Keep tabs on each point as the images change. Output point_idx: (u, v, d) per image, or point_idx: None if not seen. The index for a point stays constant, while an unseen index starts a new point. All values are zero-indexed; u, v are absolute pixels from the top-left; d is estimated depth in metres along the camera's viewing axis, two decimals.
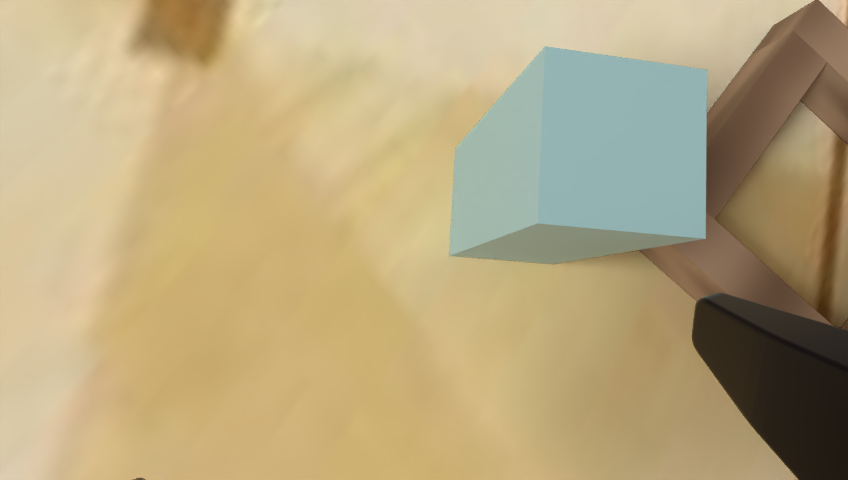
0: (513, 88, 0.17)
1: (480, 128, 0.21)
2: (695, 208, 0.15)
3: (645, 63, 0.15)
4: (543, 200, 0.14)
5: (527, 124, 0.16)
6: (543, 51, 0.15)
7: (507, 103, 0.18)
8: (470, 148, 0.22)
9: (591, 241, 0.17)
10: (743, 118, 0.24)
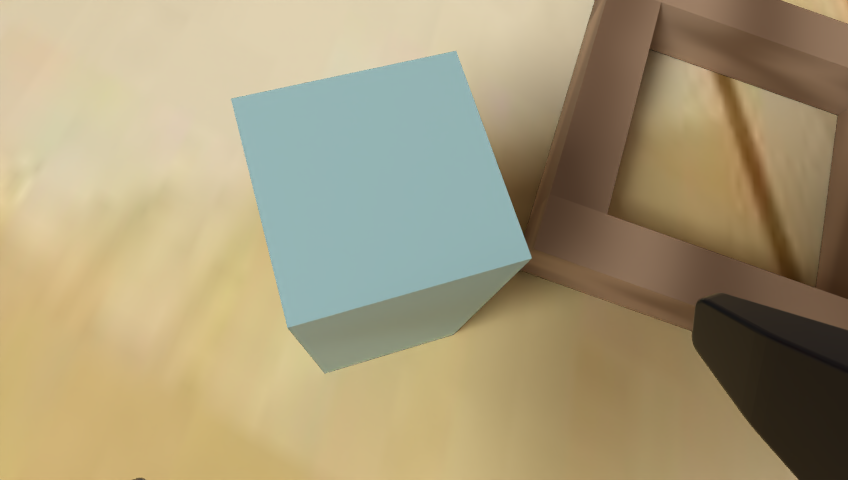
0: None
1: None
2: (502, 224, 0.11)
3: (372, 71, 0.12)
4: (286, 294, 0.10)
5: None
6: None
7: None
8: None
9: (416, 310, 0.13)
10: (594, 93, 0.21)
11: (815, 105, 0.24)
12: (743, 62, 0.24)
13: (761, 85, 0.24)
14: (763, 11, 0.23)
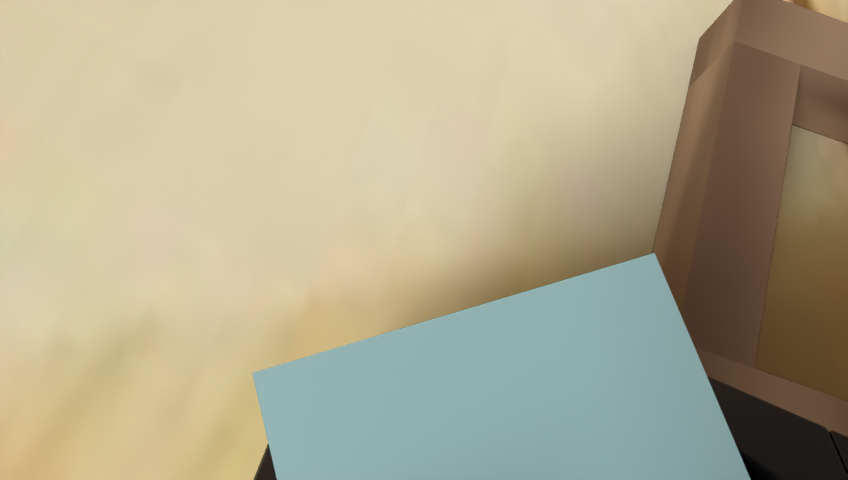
0: None
1: None
2: None
3: (511, 302, 0.06)
4: None
5: None
6: (255, 383, 0.06)
7: None
8: None
9: None
10: (724, 192, 0.15)
11: None
12: None
13: None
14: None
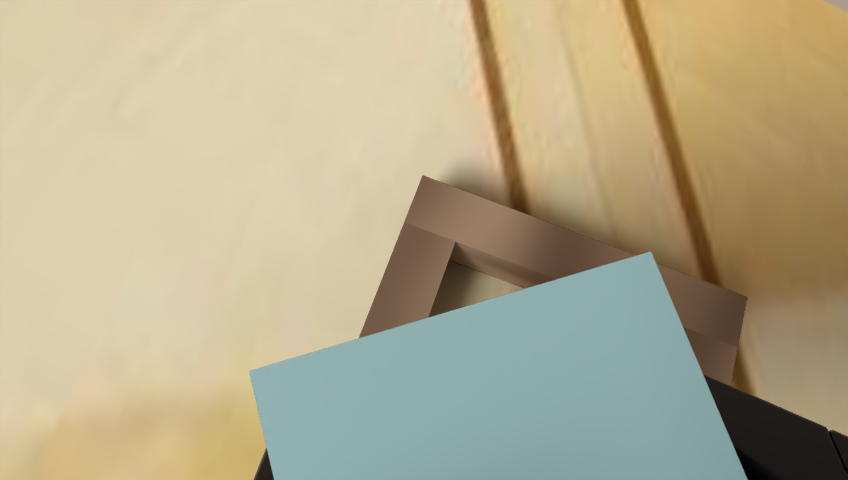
0: None
1: None
2: None
3: (507, 300, 0.06)
4: None
5: None
6: (252, 381, 0.06)
7: None
8: None
9: None
10: None
11: None
12: None
13: None
14: (563, 248, 0.22)
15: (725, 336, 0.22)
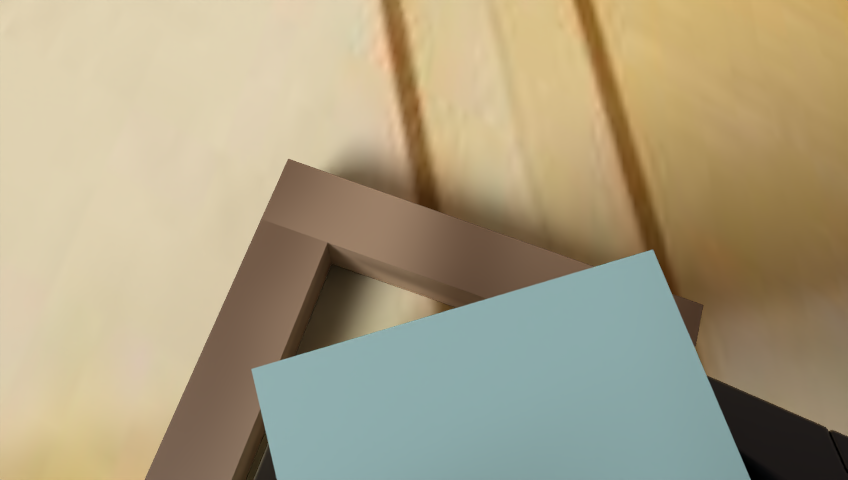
0: None
1: None
2: None
3: (509, 298, 0.06)
4: None
5: None
6: (254, 379, 0.06)
7: None
8: None
9: None
10: (207, 387, 0.15)
11: None
12: (458, 300, 0.18)
13: None
14: (467, 248, 0.17)
15: None
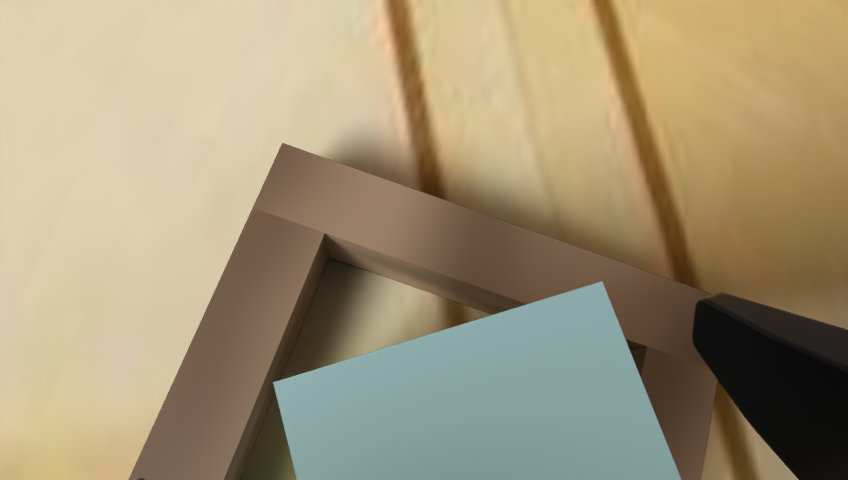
0: None
1: None
2: None
3: (482, 323, 0.08)
4: None
5: None
6: (275, 390, 0.07)
7: None
8: None
9: None
10: (192, 390, 0.14)
11: None
12: (466, 296, 0.17)
13: None
14: (476, 240, 0.16)
15: None
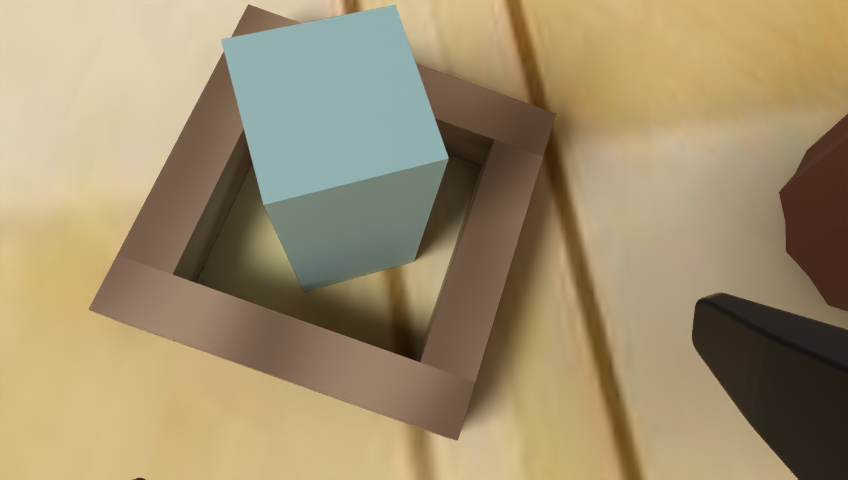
0: None
1: None
2: (427, 134, 0.14)
3: (329, 20, 0.15)
4: (262, 180, 0.14)
5: None
6: (222, 44, 0.15)
7: None
8: None
9: (368, 210, 0.16)
10: (185, 154, 0.22)
11: (459, 156, 0.25)
12: None
13: None
14: None
15: (532, 147, 0.23)
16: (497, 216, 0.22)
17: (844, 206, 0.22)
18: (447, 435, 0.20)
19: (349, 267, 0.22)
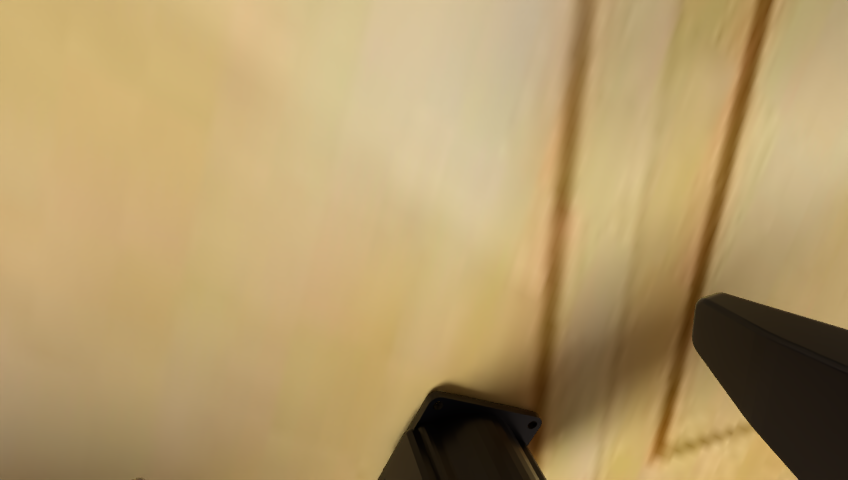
0: None
1: None
2: None
3: None
4: None
5: None
6: None
7: None
8: None
9: None
10: None
11: None
12: None
13: None
14: None
15: None
16: None
17: None
18: None
19: None
